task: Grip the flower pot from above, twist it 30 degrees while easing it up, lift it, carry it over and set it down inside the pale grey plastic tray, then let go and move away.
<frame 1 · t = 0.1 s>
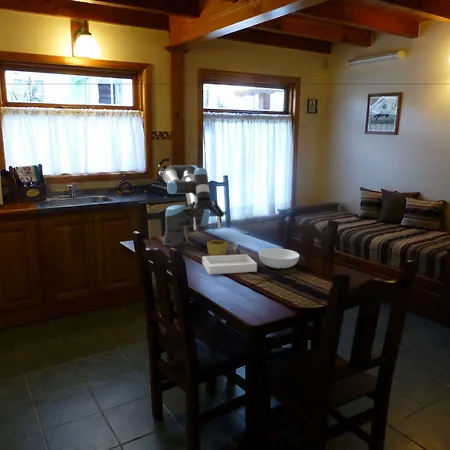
hand: (207, 228, 233), 15 cm above the table, tool tilted 35°, fingers open, 13 cm apart
flower pot: (217, 258, 233), on the table
serving bowl: (278, 266, 222), on the table
tray: (228, 267, 217), on the table
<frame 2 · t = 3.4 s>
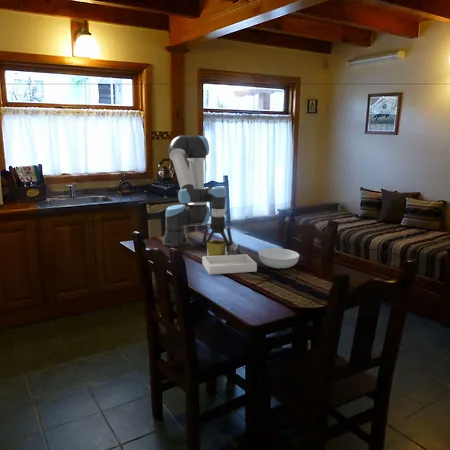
hand: (217, 256, 232), 1 cm above the table, tool pointing down, fingers closed on flower pot, 9 cm apart
flower pot: (217, 258, 233), on the table, touching gripper
everything else where it was.
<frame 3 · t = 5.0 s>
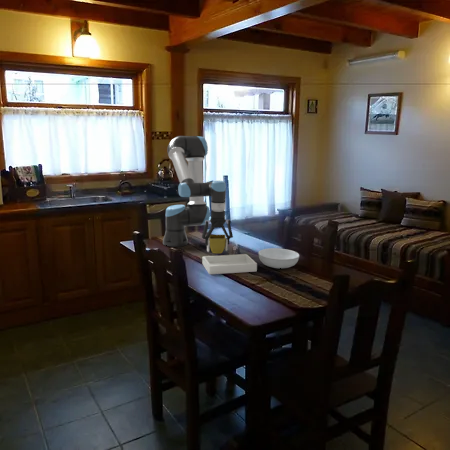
hand: (217, 250, 232), 4 cm above the table, tool pointing down, fingers closed on flower pot, 9 cm apart
flower pot: (216, 252, 233), point 3 cm above the table, touching gripper
everything else where it was.
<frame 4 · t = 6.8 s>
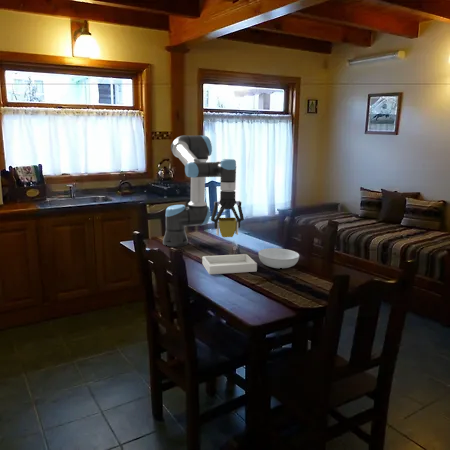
hand: (227, 234, 217), 16 cm above the table, tool pointing down, fingers closed on flower pot, 9 cm apart
flower pot: (227, 236, 217), point 15 cm above the table, touching gripper
everything else where it was.
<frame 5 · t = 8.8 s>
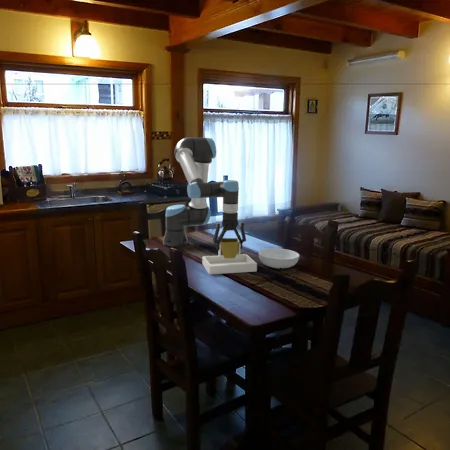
hand: (229, 255, 216), 6 cm above the table, tool pointing down, fingers closed on flower pot, 9 cm apart
flower pot: (229, 257, 216), point 5 cm above the table, touching gripper
everything else where it was.
when the fingers open (3 cm above the table, at t = 10.4 s): flower pot drops 1 cm, resting on tray.
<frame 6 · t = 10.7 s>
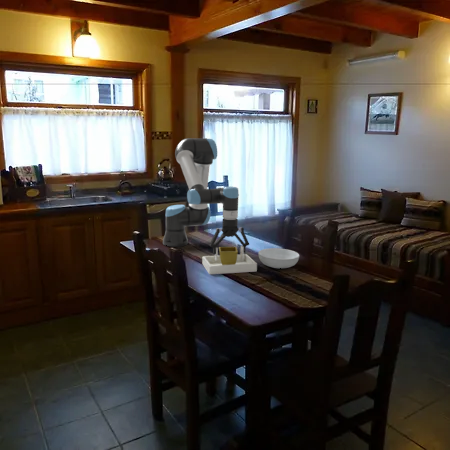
hand: (229, 259, 216), 4 cm above the table, tool pointing down, fingers open, 13 cm apart
flower pot: (227, 266, 217), point 1 cm above the table, touching tray
everything else where it was.
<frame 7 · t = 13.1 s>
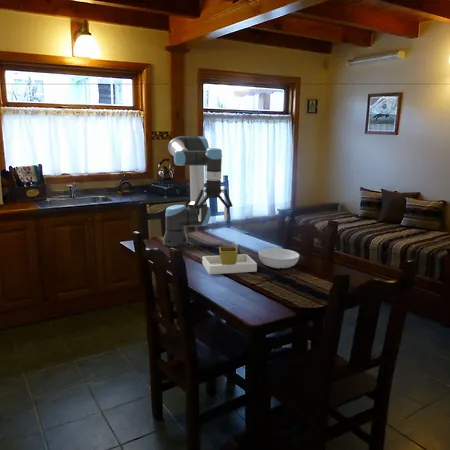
hand: (212, 220, 220), 22 cm above the table, tool pointing down, fingers open, 13 cm apart
nothing on the table moved.
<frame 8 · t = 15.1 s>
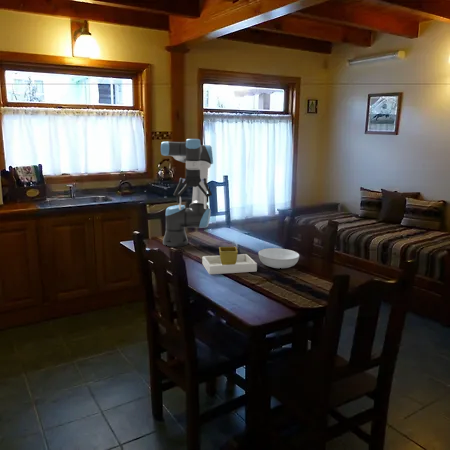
hand: (192, 209, 228), 27 cm above the table, tool pointing down, fingers open, 13 cm apart
nothing on the table moved.
at the end: flower pot inside the target area on the tray (0.6 cm from its centre), point 0.6 cm above the tray's base; flower pot tilted 0°; the gripper is holding nothing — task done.
